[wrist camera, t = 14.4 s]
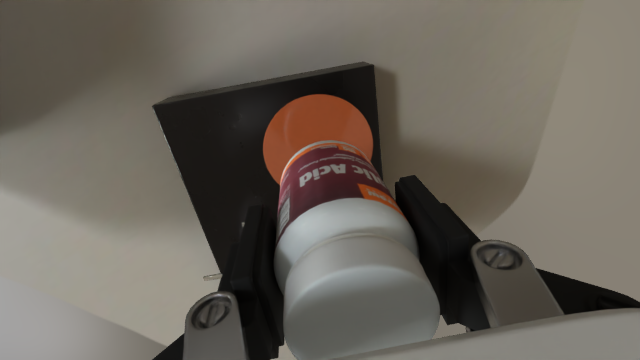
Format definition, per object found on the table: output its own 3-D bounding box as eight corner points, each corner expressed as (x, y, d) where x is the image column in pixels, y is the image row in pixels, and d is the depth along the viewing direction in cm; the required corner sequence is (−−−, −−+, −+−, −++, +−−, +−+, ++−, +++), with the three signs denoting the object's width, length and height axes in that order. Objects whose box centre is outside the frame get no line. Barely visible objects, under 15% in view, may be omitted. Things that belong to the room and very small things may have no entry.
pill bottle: (383, 143, 14) (485, 259, 7) (363, 226, 16) (426, 387, 9) (283, 132, 14) (275, 247, 6) (275, 220, 16) (262, 389, 8)
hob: (147, 101, 19) (127, 110, 17) (364, 61, 20) (374, 64, 17) (227, 293, 27) (221, 318, 25) (383, 263, 27) (392, 285, 25)
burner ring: (250, 105, 18) (250, 106, 17) (367, 83, 18) (367, 84, 18) (277, 206, 21) (277, 207, 21) (376, 187, 21) (377, 188, 21)
